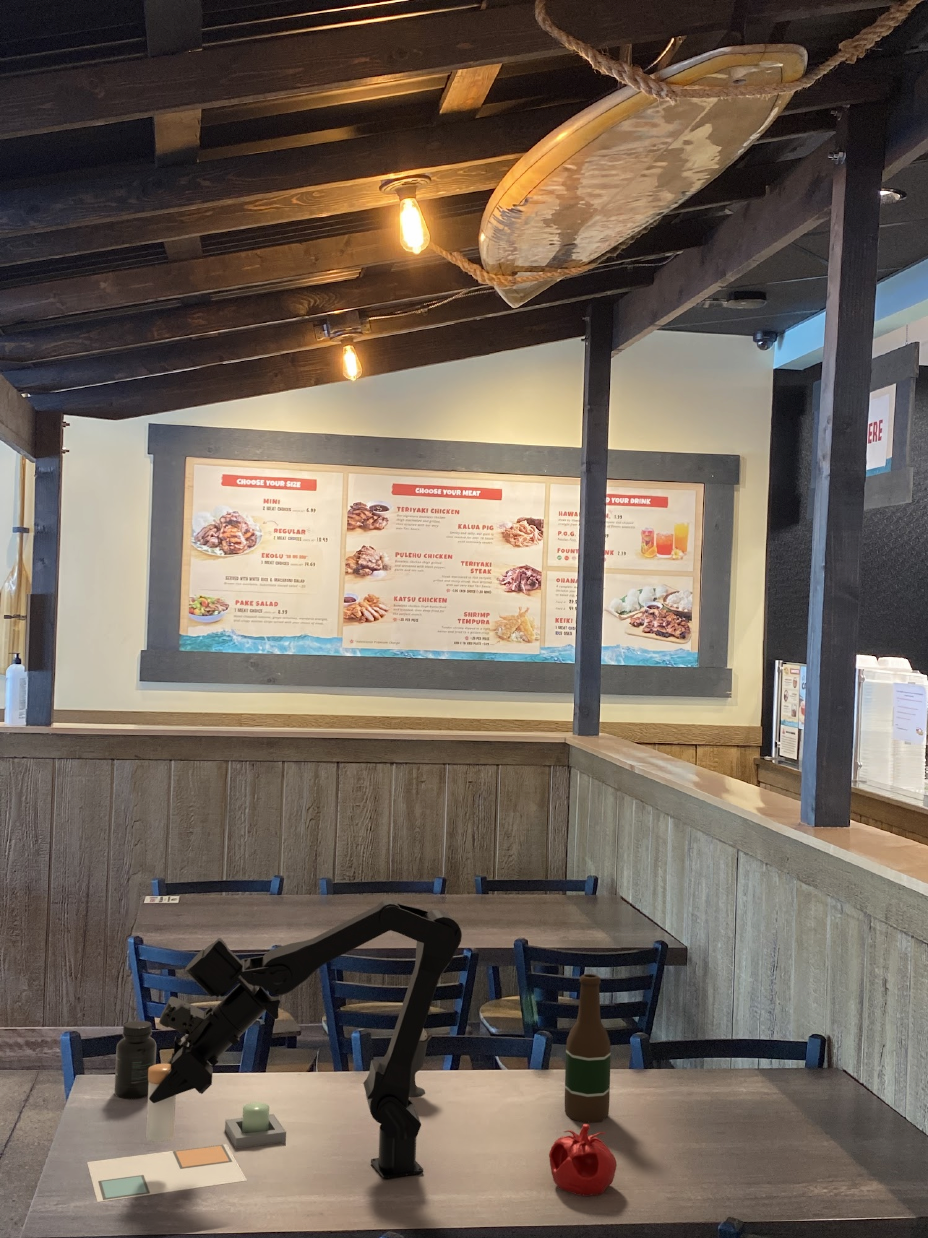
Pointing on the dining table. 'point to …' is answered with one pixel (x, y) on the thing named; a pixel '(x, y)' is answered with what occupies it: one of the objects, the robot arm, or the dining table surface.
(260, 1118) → the button
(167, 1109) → the marker
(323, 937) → the robot arm
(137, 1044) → the supplement bottle
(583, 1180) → the pomegranate
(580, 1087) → the beer bottle
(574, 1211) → the dining table surface
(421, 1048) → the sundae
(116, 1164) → the colouring mat
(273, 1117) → the button housing
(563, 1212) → the dining table surface
